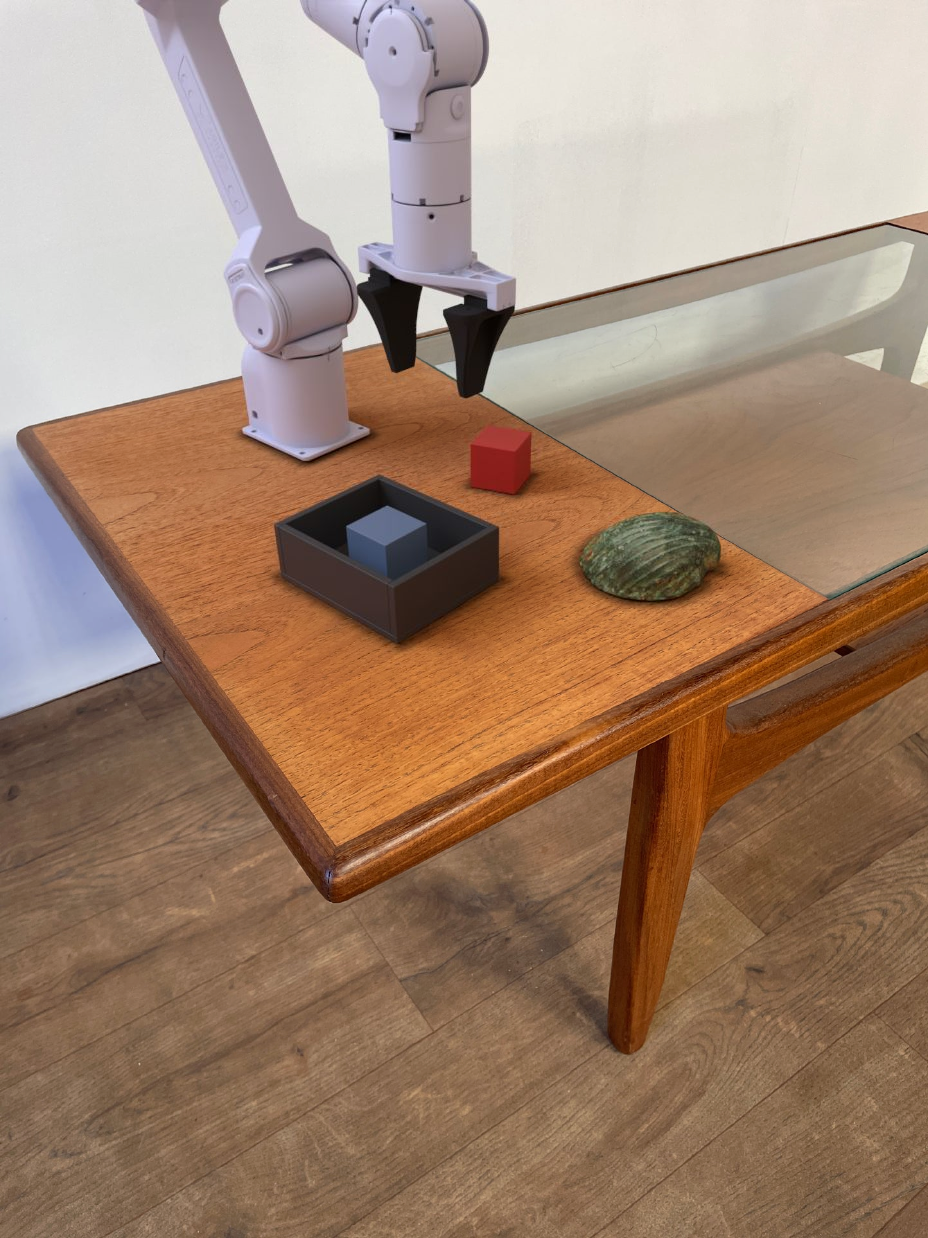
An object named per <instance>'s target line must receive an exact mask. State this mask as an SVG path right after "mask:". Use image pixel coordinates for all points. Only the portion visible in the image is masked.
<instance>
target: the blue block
mask: <svg viewBox="0 0 928 1238" xmlns="http://www.w3.org/2000/svg"><path fill="white" fill-rule="evenodd" d="M346 529H347V540H348V550H349V557H350V558H351V559H353V560H355V561H357V562H359V563H361V564H363V565H365V566H367V567H369V568H371V569H372V570H374V571H376V572H378V573H380V574H382V575H384V576H386V577H388V578H390V579H392V580H393V581H394V580H396V579H398V578H400V577H401V576H403V575H405V574H407V573H409V572H410V571H412V570H414V569H416V568H417V567H419V566H421V565H423V564H424V563H426V562H428V549H427V524H426V523H424V522H422V521H420V520H417V519H415V518H413V517H411V516H409V515H407V514H405V513H402V512H400V511H398V510H396V509H394V508H392V507H389V506H385V507H383V508H381V509H379V510H377V511H375V512H373V513H371V514H369V515H368V516H366V517H364V518H362V519H360V520H358V521H356V522H354V523H352V524H350V525H348V526H346Z"/></svg>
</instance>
